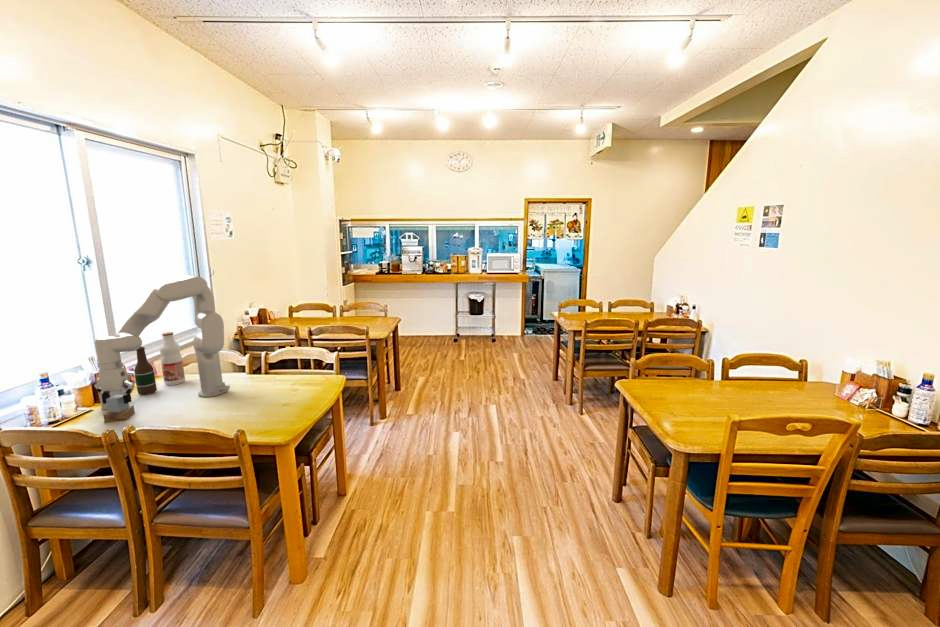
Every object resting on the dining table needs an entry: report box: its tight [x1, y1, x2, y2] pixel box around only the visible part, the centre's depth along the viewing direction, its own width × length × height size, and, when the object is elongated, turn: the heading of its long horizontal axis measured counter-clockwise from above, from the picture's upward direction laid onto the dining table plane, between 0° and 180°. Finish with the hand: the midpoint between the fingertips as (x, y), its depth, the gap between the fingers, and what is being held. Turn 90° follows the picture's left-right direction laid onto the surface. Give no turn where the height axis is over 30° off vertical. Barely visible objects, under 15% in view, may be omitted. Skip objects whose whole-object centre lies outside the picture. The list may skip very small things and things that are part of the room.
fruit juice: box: [159, 331, 186, 386], centre depth 227 cm, size 9×9×28 cm
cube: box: [106, 395, 130, 412], centre depth 183 cm, size 5×5×6 cm
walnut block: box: [102, 405, 136, 424], centre depth 184 cm, size 8×8×4 cm
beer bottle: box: [133, 346, 158, 396], centre depth 212 cm, size 8×8×24 cm
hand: (117, 402), depth 183 cm, fingers open, 9 cm apart
